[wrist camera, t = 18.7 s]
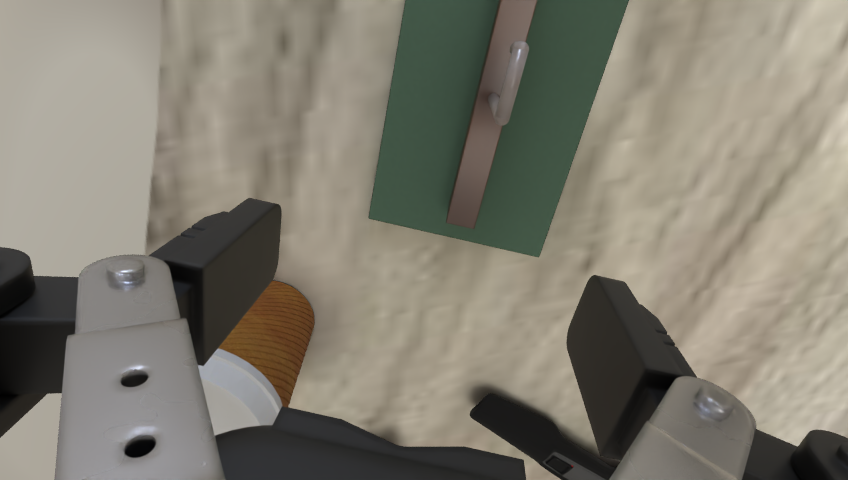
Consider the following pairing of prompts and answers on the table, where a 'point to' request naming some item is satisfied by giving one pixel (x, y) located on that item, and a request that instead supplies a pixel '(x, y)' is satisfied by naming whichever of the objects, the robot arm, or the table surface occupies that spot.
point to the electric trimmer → (539, 440)
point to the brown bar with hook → (491, 107)
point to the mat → (520, 138)
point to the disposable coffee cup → (258, 361)
